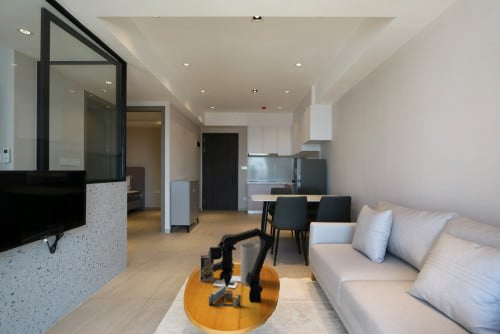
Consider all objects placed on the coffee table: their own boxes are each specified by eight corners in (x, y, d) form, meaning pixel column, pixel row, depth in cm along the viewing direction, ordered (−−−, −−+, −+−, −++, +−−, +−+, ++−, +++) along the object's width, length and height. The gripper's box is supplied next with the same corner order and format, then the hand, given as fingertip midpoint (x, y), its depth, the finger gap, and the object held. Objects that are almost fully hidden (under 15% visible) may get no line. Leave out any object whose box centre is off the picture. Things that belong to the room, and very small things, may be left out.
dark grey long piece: (208, 307, 154) (208, 297, 154) (209, 303, 157) (209, 294, 157) (240, 307, 153) (240, 297, 154) (240, 304, 157) (240, 294, 157)
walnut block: (232, 297, 165) (232, 290, 165) (231, 301, 161) (231, 293, 161) (224, 297, 165) (225, 290, 165) (224, 301, 161) (224, 293, 161)
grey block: (214, 302, 158) (214, 294, 158) (211, 301, 158) (212, 293, 158) (225, 293, 168) (225, 286, 168) (223, 293, 169) (223, 285, 169)
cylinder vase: (259, 279, 193) (259, 243, 193) (258, 286, 181) (258, 248, 181) (241, 278, 194) (242, 242, 195) (239, 285, 182) (239, 247, 182)
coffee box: (200, 282, 187) (200, 258, 187) (199, 278, 193) (199, 255, 193) (213, 280, 190) (214, 257, 190) (212, 277, 196) (212, 254, 196)
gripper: (215, 252, 166) (215, 278, 166) (210, 263, 147) (210, 292, 147) (234, 252, 165) (234, 279, 165) (231, 263, 147) (231, 293, 147)
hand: (227, 285), depth 156 cm, fingers open, 3 cm apart
